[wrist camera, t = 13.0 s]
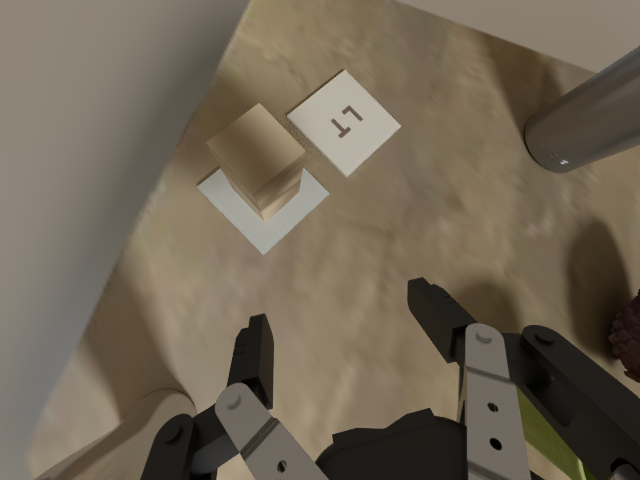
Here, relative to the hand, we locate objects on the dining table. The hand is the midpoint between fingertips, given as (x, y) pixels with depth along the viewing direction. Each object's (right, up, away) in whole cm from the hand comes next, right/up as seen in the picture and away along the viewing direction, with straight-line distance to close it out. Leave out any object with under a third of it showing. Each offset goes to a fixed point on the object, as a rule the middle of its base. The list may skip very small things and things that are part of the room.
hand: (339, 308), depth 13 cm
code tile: (+2, +18, +16) cm, 24 cm away
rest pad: (-7, +9, +13) cm, 18 cm away
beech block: (-7, +9, +13) cm, 17 cm away
